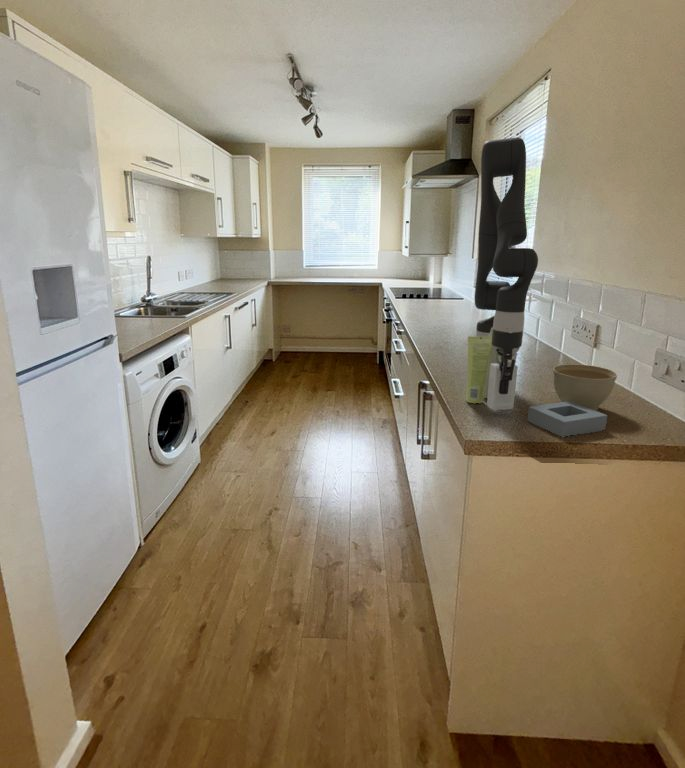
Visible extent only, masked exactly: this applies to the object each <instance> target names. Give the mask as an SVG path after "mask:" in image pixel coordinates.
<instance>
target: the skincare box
mask: <svg viewBox="0 0 685 768" xmlns="http://www.w3.org/2000/svg"><path fill="white" fill-rule="evenodd" d="M501 367H502V366H501ZM502 368H503V367H502ZM518 368H519V367H518V365H516V364H515V365H514V369H513V375H512V380H510V381H509V387H508V394H500V393H499V385H500V371H499V363H495V364H490V375H489V387H488V398H487V399H486V400H487V401H486V405H487V407H488V408H490V409H491V410H492V411H493V410H494V411H495V410H514V408H515V407H514V406H515V398H516V397H515V396H516V388H517V378H518V376H517V375H518ZM505 375H507V376H508V373H505Z"/></svg>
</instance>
